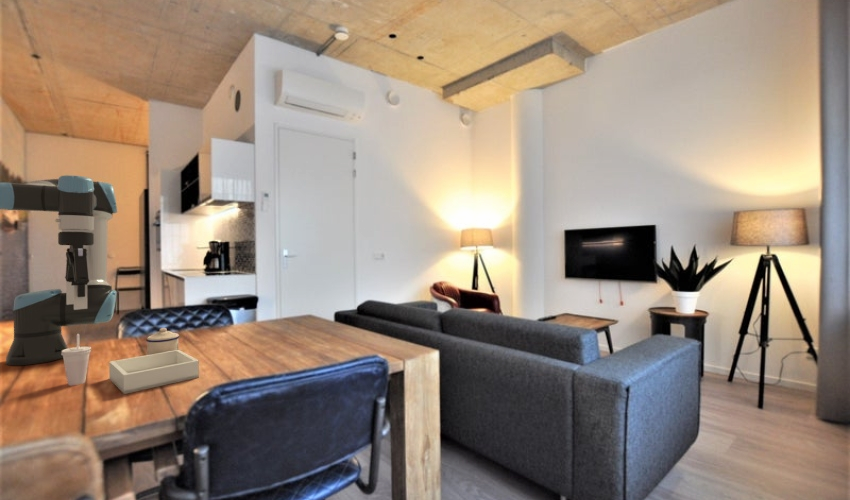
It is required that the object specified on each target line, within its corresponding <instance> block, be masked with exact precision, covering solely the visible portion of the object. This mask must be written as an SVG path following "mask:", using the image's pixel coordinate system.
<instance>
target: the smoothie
mask: <svg viewBox="0 0 850 500" xmlns="http://www.w3.org/2000/svg"><path fill="white" fill-rule="evenodd" d="M91 352H92V347H91V346H80V333H77V334H76V346H74V347H68V349H65V350H62V354H61V355H63V358H62V359H63V364H64V370H65V371H64V372H65V375H66V377H65V378H66V382H67V385H68V386H77V385H81V384H85V383H86V381H87V379H86V378H87V372H88V368H89V367H88V366H89V359H90V353H91Z"/></svg>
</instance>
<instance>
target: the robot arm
mask: <svg viewBox="0 0 850 500" xmlns="http://www.w3.org/2000/svg"><path fill="white" fill-rule="evenodd" d="M117 206H118V205H117V202H116V195H115V189H114V186H113V185H112V183H109V182H101V181H94V180H93V179H92V178H90V177H87V176H81V175H69V174H68V175H67V174H66V175H61V176H59V177H58V178H52V179H50V178H49V179H42V180H41V179H40V180H33V181H31V182H29V183H16V182H15V183H14V182H9V181H8V182H0V210H7V211H30V212H31V211H36V212H49V213H50V212H51V213H52V212H55V213H58V214H57V215H58V218H55V219H54V220H55V223H57V224H58V230H60V231H59V232H58V233H57V237H58V239H57V242H58V243H57V244H58V246H59V245H60V246H69V247H68V248H67V249H66V252H65V257H66V261H65V262H66V265H65V266H66V267H65V276H64V278H65V282H66V284H65V285H66V286H65V287H66V292H63V291H62V289H61V288H54V289H46V290H38V291H33V292H31V291H30V292H26V293H22V294H18V295H16V297H14V301H13V308H12V311H13V340H12V342H11V346H10V348H9V350H8V353H7V354H6V357H5V364H6V365H8V366H27V365H38V364H43V363H48V362H53V361H58V360H61V359H63V355H61V354H62V350H65V349H68V348H69V347H68V345H67V343H66V340H65V339H64V336H63V334H62V332H63V331H62V328H63V327H69V326H81V325H97V324H102V323H109V322H110V321H111V320H112V319H113V317H114V312H115V307H116V303H117V302H116V301H117V290H115V289H113V287H112V285H111V284H110V283H109V282H108V280H107V279H108V278H107V277H108V272H107V271H108V221H109V220H111V219H112V218H113V215H114V214H116V213H118V208H117Z"/></svg>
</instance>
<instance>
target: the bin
mask: <svg viewBox="0 0 850 500" xmlns="http://www.w3.org/2000/svg"><path fill="white" fill-rule="evenodd" d="M108 363H109V365H108V367H109V369H108V370H109V372H108V373H109V374H108V375H109V376H108V377H109V378H108V379H109V380H110V381H111V382H112V383H113V384H114V385H115V387H117V389H118V390H119V391H120V392H121V393H122V394H123V395H126V394H131V393H135V392H139V391H145V390H149V389H154V388H158V387H162V386H163V387H164V386H167V385H172V384H175V383H180V382H185V381H189V380H190V381H191V380H194V379H197V378H198V379H199V378H200V361H199V360H198V359H197V358H195V357H193V356H191V355H190V354H187V353H186V352H184V351H182V350H180V349H178V350H174V351H168V352H163V353H157V354H151V355H147V354H146V355H141V356H140V355H139V356H134V357H129V358H123V359H117V360H112V361H108Z"/></svg>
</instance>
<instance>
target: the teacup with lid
mask: <svg viewBox="0 0 850 500" xmlns="http://www.w3.org/2000/svg"><path fill="white" fill-rule="evenodd" d="M179 339H180V335H179V333H176V332H172V331H170V330H167V328H166V327H163V328H162V327H161V328H159V331H156V332H155V333H153V334H152V335H149V336H148V337H147V338H146V339H145V340H146V355H151V354H157V353H163V352H168V351H174V350H179Z"/></svg>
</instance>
